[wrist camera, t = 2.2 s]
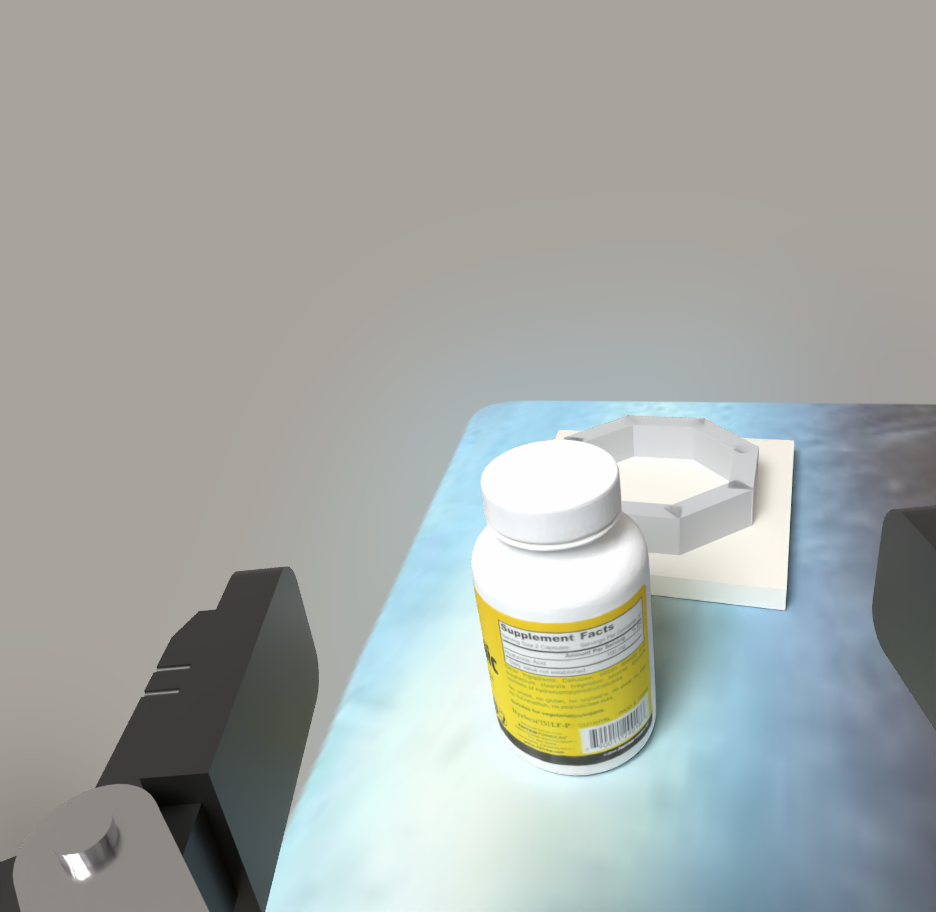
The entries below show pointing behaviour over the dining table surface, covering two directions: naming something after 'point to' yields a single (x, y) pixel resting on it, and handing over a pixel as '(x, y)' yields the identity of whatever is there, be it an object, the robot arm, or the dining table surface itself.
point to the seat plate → (732, 556)
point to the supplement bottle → (565, 608)
